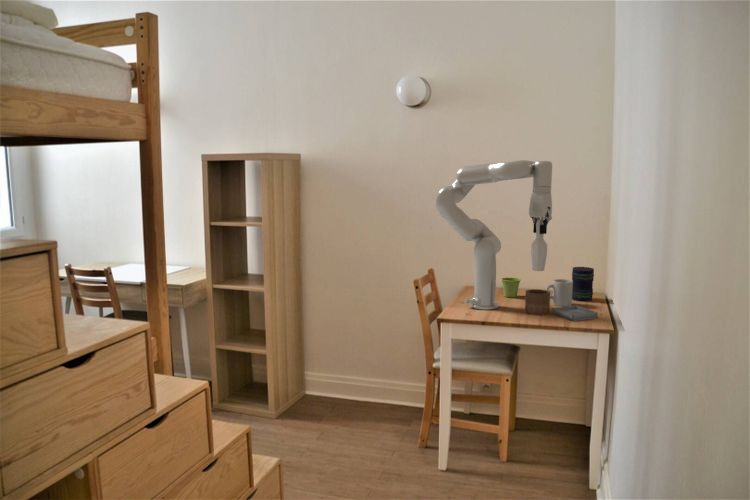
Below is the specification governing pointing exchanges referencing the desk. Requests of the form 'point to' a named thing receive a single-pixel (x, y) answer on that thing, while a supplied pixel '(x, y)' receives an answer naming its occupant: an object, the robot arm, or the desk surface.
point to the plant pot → (510, 286)
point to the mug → (561, 292)
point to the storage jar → (582, 284)
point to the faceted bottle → (538, 250)
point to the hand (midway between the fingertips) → (539, 232)
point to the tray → (574, 313)
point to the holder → (537, 302)
